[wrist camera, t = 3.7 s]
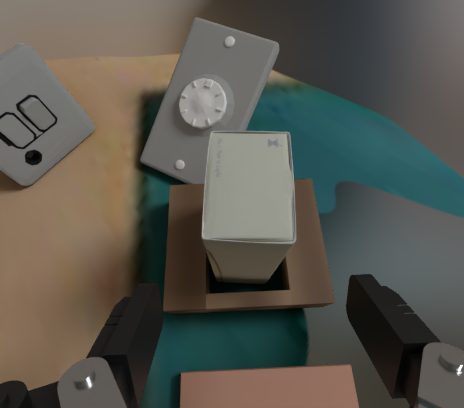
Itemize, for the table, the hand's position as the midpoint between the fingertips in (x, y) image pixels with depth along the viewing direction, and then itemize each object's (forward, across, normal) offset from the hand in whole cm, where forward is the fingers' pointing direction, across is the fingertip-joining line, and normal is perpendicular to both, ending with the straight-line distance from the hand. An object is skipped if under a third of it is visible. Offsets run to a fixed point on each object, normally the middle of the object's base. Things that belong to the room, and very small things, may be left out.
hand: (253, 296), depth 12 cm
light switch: (+21, +3, -4) cm, 22 cm away
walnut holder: (+12, 0, +4) cm, 13 cm away
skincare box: (+12, 0, +4) cm, 13 cm away
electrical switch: (+20, +20, -4) cm, 29 cm away
